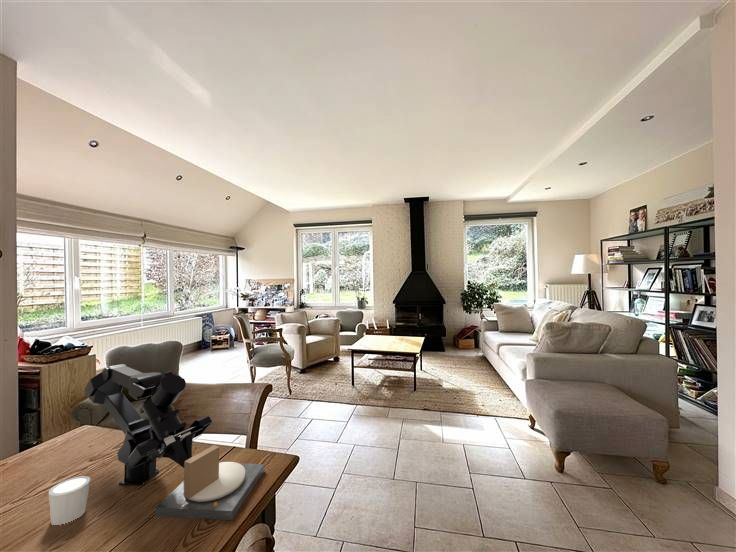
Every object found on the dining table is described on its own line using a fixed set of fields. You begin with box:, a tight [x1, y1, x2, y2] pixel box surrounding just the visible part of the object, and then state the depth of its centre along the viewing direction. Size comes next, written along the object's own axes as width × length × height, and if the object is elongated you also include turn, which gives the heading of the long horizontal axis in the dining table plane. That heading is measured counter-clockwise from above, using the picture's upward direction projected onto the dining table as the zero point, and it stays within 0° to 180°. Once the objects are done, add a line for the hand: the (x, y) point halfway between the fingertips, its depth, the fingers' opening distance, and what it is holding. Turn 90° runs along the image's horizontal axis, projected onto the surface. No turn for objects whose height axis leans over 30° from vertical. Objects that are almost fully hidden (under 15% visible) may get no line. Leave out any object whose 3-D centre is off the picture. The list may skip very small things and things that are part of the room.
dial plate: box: [154, 462, 265, 521], centre depth 77 cm, size 18×18×2 cm
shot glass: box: [48, 475, 91, 526], centre depth 69 cm, size 7×7×7 cm
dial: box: [183, 444, 245, 502], centre depth 77 cm, size 15×14×9 cm
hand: (189, 468), depth 74 cm, fingers closed
